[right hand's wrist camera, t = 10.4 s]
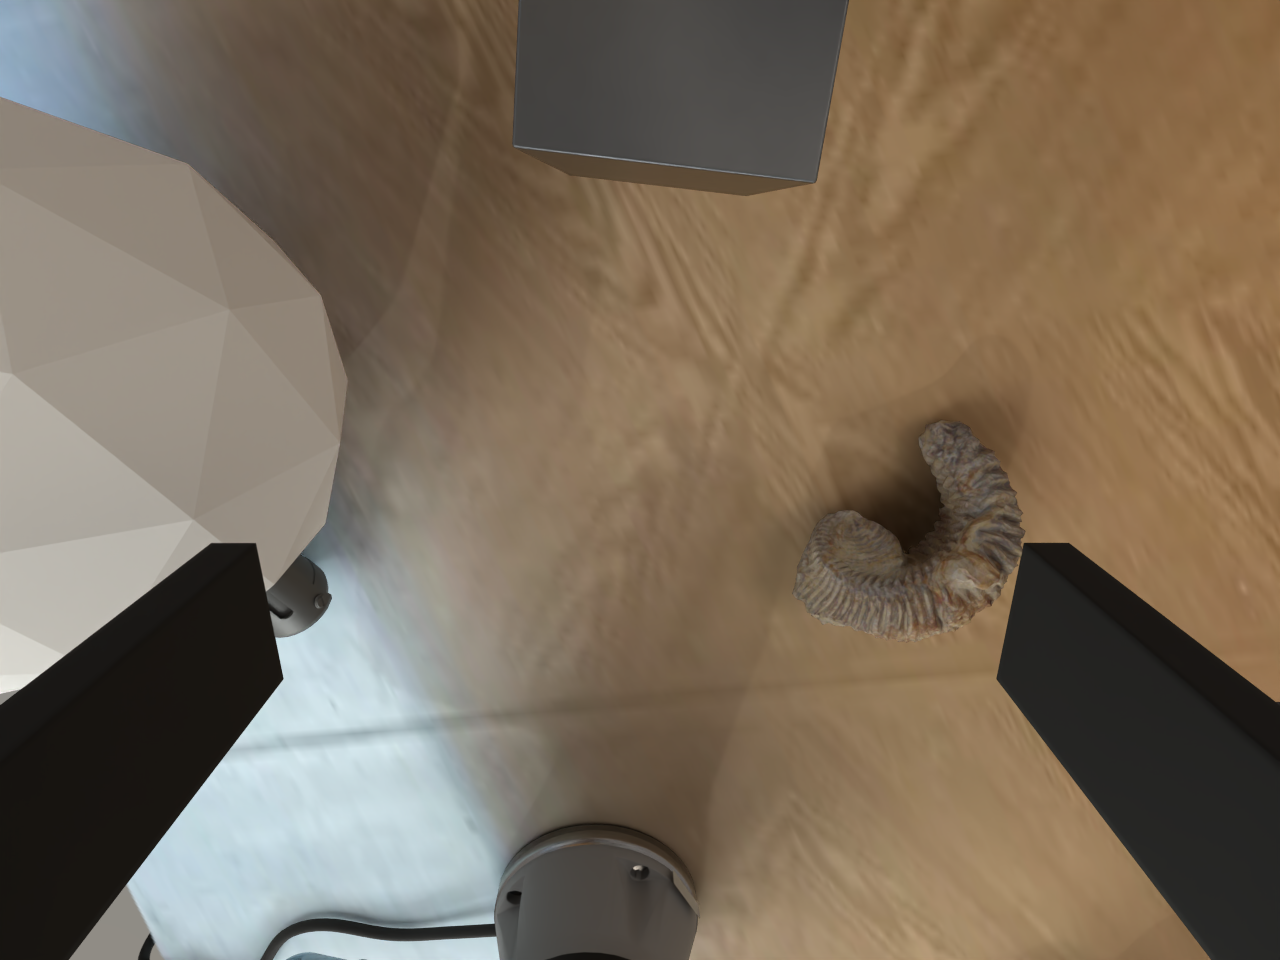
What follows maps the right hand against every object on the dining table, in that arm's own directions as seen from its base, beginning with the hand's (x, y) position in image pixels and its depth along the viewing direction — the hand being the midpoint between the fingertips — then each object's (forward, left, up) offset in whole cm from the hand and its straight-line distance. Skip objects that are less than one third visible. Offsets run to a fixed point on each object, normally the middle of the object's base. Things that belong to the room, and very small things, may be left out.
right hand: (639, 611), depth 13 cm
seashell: (+12, -15, -30) cm, 36 cm away
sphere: (-24, +3, -30) cm, 39 cm away
